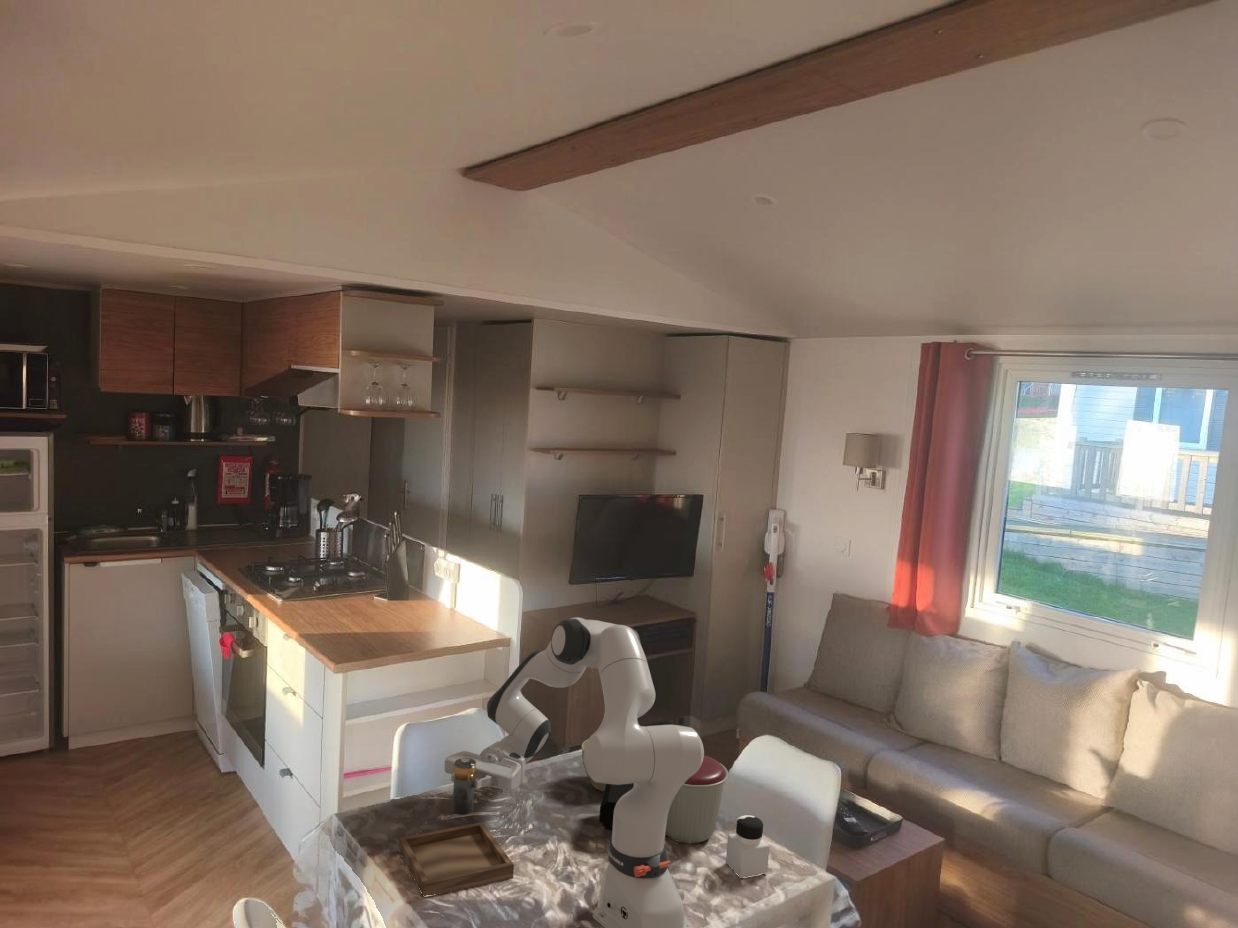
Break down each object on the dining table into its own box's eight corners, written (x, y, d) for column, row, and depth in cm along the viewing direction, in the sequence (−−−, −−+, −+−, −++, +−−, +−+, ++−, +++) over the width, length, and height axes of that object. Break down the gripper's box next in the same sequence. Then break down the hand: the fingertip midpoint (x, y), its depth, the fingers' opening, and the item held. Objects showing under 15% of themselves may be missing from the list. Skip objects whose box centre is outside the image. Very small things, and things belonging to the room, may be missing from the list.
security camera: (632, 809, 223) (635, 772, 223) (626, 845, 205) (628, 805, 204) (606, 806, 224) (608, 769, 223) (597, 842, 206) (600, 802, 205)
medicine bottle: (767, 875, 197) (771, 824, 196) (740, 879, 194) (744, 828, 193) (751, 858, 203) (755, 810, 202) (725, 862, 201) (729, 813, 200)
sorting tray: (513, 877, 188) (513, 864, 188) (423, 897, 179) (424, 884, 179) (481, 833, 206) (482, 821, 206) (398, 850, 196) (399, 837, 196)
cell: (476, 812, 208) (479, 761, 207) (456, 816, 205) (458, 764, 204) (469, 803, 212) (471, 753, 211) (449, 807, 210) (451, 756, 209)
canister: (727, 854, 204) (734, 769, 202) (651, 849, 204) (658, 764, 202) (718, 817, 222) (724, 738, 221) (648, 812, 222) (654, 734, 220)
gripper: (463, 740, 225) (430, 759, 213) (530, 759, 216) (499, 779, 204) (462, 764, 226) (429, 783, 213) (529, 783, 217) (498, 805, 204)
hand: (464, 781), depth 208 cm, fingers closed on cell, 5 cm apart
